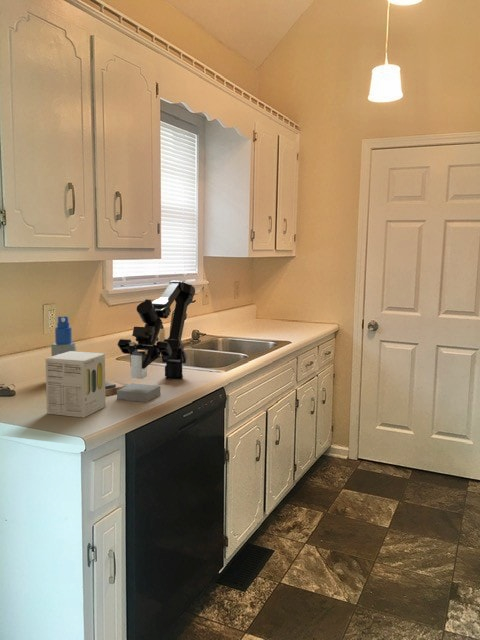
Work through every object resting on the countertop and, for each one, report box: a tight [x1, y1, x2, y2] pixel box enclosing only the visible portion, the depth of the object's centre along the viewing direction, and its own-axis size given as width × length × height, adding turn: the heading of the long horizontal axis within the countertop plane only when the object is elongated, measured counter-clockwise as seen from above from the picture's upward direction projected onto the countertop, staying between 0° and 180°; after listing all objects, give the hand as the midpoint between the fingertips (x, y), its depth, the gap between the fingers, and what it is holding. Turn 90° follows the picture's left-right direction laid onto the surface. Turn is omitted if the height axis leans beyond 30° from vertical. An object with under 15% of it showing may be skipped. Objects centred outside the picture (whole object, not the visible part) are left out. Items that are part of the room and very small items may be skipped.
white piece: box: [130, 350, 148, 380], centre depth 184 cm, size 4×4×9 cm
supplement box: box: [45, 350, 106, 419], centre depth 167 cm, size 13×13×18 cm
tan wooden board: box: [105, 380, 129, 397], centre depth 191 cm, size 12×8×3 cm, turn 139°
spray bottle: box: [50, 315, 77, 357], centre depth 205 cm, size 9×9×25 cm
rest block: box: [116, 382, 161, 403], centre depth 185 cm, size 11×11×3 cm
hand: (137, 367), depth 183 cm, fingers closed on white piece, 4 cm apart
